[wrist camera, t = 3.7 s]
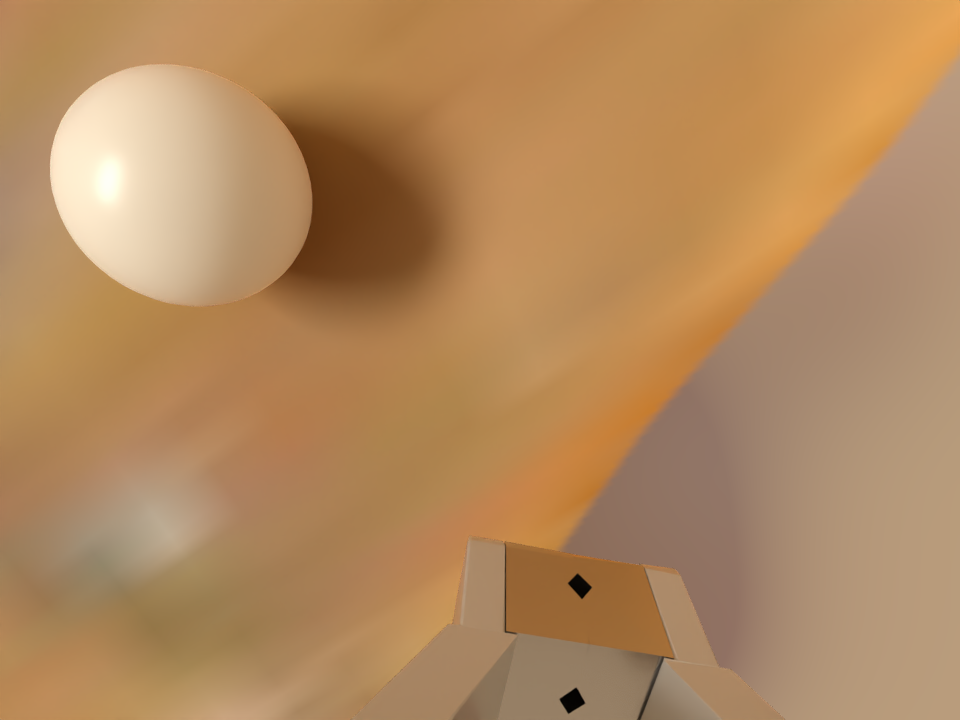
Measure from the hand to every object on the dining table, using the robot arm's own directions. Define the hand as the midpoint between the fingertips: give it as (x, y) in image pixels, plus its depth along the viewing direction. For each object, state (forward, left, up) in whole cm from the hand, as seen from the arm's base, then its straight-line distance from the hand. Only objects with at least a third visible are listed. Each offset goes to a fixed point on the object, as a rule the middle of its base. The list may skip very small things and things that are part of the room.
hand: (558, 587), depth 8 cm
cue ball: (0, +10, -7) cm, 12 cm away
